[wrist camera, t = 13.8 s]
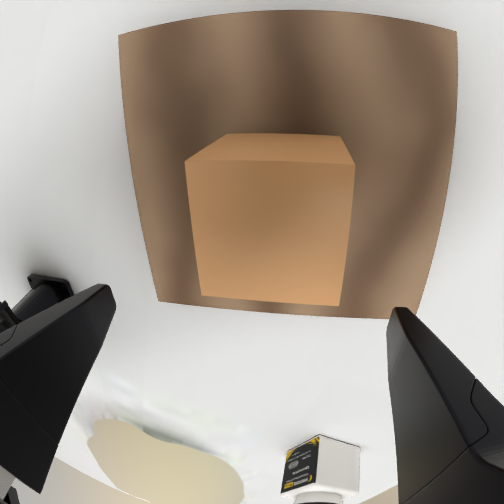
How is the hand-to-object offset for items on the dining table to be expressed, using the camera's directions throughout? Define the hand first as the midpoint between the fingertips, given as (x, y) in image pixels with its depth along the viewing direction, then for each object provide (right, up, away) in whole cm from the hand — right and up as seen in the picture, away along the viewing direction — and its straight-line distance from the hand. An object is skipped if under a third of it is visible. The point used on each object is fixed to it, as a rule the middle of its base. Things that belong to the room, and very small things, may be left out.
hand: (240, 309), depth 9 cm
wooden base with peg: (+2, +6, +10) cm, 12 cm away
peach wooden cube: (+2, +5, +7) cm, 9 cm away
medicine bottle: (+10, -24, +26) cm, 37 cm away
